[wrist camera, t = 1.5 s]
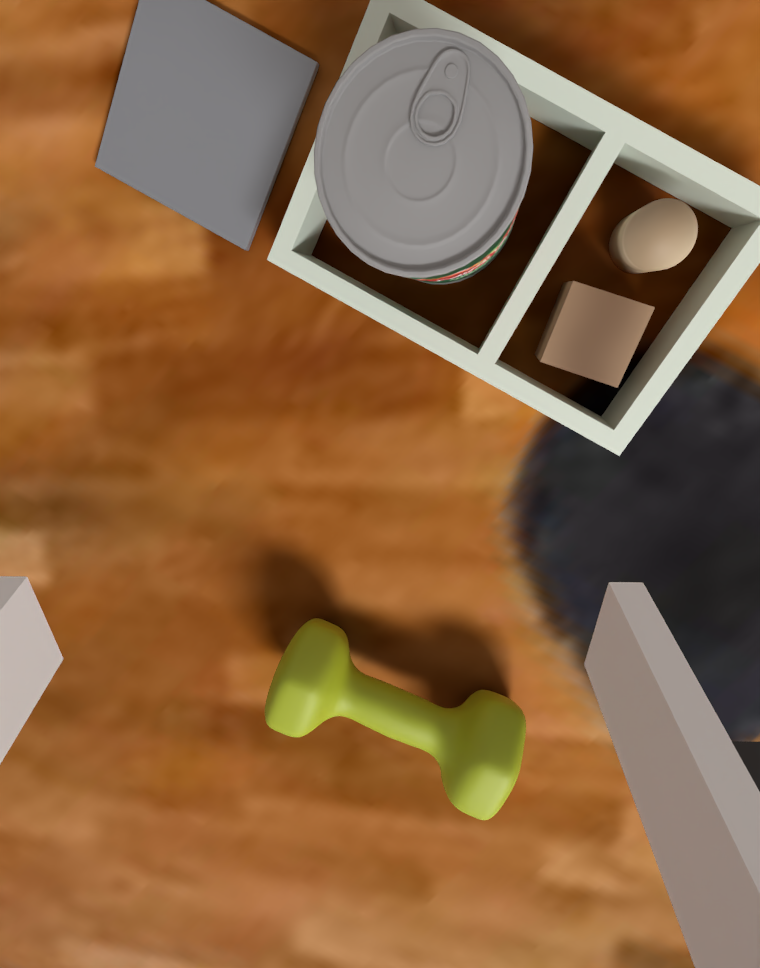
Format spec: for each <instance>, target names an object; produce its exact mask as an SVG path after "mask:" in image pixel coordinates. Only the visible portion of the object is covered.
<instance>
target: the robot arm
mask: <svg viewBox="0 0 760 968" xmlns="http://www.w3.org/2000/svg"><path fill="white" fill-rule="evenodd" d="M62 660H63V657H62V654H61V652H60V650H59V648H58V645H57V643H56V641H55V639H54V636H53V634H52V632H51V630H50V627H49V625H48V623H47V621H46V618H45V616H44V614H43V612H42V609H41V607H40V605H39V603H38V600H37V598H36V596H35V594H34V591H33V589H32V587H31V585H30V582H29V580H28V578H27V577H9V576H0V764H1V762H2V760H3V759H4V757H5V755H6V754H7V752H8V750H9V749H10V747H11V745H12V744H13V742H14V740H15V739H16V737H17V735H18V734H19V732H20V730H21V729H22V727H23V725H24V724H25V722H26V720H27V719H28V717H29V715H30V714H31V712H32V710H33V709H34V707H35V705H36V704H37V702H38V700H39V699H40V697H41V695H42V694H43V692H44V690H45V689H46V687H47V685H48V684H49V682H50V680H51V679H52V677H53V675H54V674H55V672H56V670H57V669H58V667H59V665H60V664H61V662H62ZM584 665H585V668H586V670H587V673H588V676H589V679H590V681H591V684H592V687H593V690H594V692H595V695H596V698H597V700H598V703H599V706H600V709H601V711H602V714H603V717H604V720H605V722H606V725H607V728H608V731H609V733H610V736H611V739H612V742H613V744H614V747H615V750H616V752H617V755H618V758H619V761H620V763H621V766H622V769H623V772H624V774H625V777H626V780H627V783H628V785H629V788H630V791H631V793H632V796H633V799H634V802H635V804H636V807H637V810H638V813H639V815H640V818H641V821H642V824H643V826H644V829H645V832H646V835H647V837H648V840H649V843H650V845H651V848H652V851H653V854H654V856H655V859H656V862H657V865H658V867H659V870H660V873H661V876H662V878H663V881H664V884H665V887H666V889H667V892H668V895H669V897H670V900H671V903H672V906H673V908H674V911H675V914H676V917H677V919H678V922H679V925H680V928H681V930H682V933H683V936H684V938H685V941H686V944H687V947H688V949H689V952H690V955H691V958H692V960H693V963H694V966H695V968H760V742H733V741H731V740H730V738H729V736H728V734H727V732H726V731H725V729H724V727H723V725H722V723H721V722H720V720H719V718H718V716H717V714H716V713H715V711H714V709H713V707H712V705H711V704H710V702H709V700H708V698H707V697H706V695H705V693H704V691H703V689H702V688H701V686H700V684H699V682H698V680H697V679H696V677H695V675H694V673H693V671H692V670H691V668H690V666H689V664H688V662H687V661H686V659H685V657H684V655H683V653H682V652H681V650H680V648H679V646H678V645H677V643H676V641H675V639H674V637H673V636H672V634H671V632H670V630H669V628H668V627H667V625H666V623H665V621H664V619H663V618H662V616H661V614H660V612H659V610H658V609H657V607H656V605H655V603H654V601H653V600H652V598H651V596H650V594H649V593H648V591H647V589H646V587H645V585H644V584H643V583H634V582H609V583H608V587H607V590H606V593H605V597H604V600H603V603H602V607H601V610H600V613H599V617H598V620H597V623H596V627H595V630H594V633H593V637H592V640H591V643H590V647H589V650H588V653H587V657H586V660H585V663H584Z"/></svg>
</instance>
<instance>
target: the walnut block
mask: <svg viewBox="0 0 760 968" xmlns="http://www.w3.org/2000/svg"><path fill="white" fill-rule="evenodd" d="M654 309H655V307H653V306H649V305H646V304H643V303H640V302H637V301H634V300H631V299H628V298H625V297H622V296H619V295H616V294H613V293H610V292H607V291H604V290H601V289H597V288H594V287H591V286H588V285H585V284H582V283H579V282H576V281H569V282H564V283H563V285H562V287H561V289H560V292H559V294H558V297H557V299H556V302H555V304H554V307H553V309H552V312H551V314H550V317H549V319H548V322H547V324H546V327H545V329H544V332H543V334H542V337H541V339H540V341H539V344H538V346H537V349H536V351H535V354H534V355H535V356H536V357H537V358H538V360H539V361H540V362H542V363H545V364H548V365H551V366H554V367H557V368H560V369H563V370H566V371H569V372H572V373H575V374H578V375H581V376H584V377H587V378H590V379H593V380H595V381H598V382H601V383H604V384H607V385H610V386H613V387H616V388H618V386H619V384H620V382H621V379H622V377H623V375H624V373H625V371H626V369H627V367H628V365H629V362H630V360H631V358H632V356H633V354H634V352H635V350H636V347H637V345H638V343H639V341H640V339H641V337H642V335H643V332H644V330H645V328H646V326H647V324H648V322H649V320H650V317H651V315H652V313H653V311H654Z"/></svg>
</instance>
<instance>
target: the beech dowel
mask: <svg viewBox="0 0 760 968" xmlns="http://www.w3.org/2000/svg"><path fill="white" fill-rule="evenodd" d="M697 234H698V223H697V219H696V216H695V214H694V212H693V211H692V209H691V208H690V207H689V206H688V205H687V204H685V203H684V202H682V201H680V200H677V199H671V198H664V199H659V200H655V201H653V202H651V203H649V204H647V205H645V206H644V207H642V208H640V209H638V210H637V211H635V212H633V213H631V214H630V215H628V216H626V217H625V218H623V219H622V220H621V221H620V222H619V223H618V224H617V225H616V227H615V228H614V230H613V232H612V234H611V237H610V241H609V253H610V257H611V259H612V261H613V263H614V264H615V265H616V266H617V267H618V268H619V269H621V270H622V271H625V272H627V273H633V274H638V273H645V272H652V271H659V270H664V269H668V268H671V267H673V266H675V265H677V264H678V263H680V262H681V261H682V260H683V259H684V258H685V257H686V256H687V255H688V254H689V253H690V251H691V250H692V248H693V246H694V244H695V242H696V239H697Z"/></svg>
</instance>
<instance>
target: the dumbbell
mask: <svg viewBox="0 0 760 968" xmlns="http://www.w3.org/2000/svg"><path fill="white" fill-rule="evenodd" d="M334 716H344V717H347V718H350V719H352V720H355V721H357V722H359V723H360V724H362V725H364V726H366V727H369V728H371V729H373V730H375V731H377V732H379V733H381V734H383V735H385V736H387V737H390V738H392V739H395V740H398V741H400V742H403V743H406V744H408V745H411V746H414V747H417V748H419V749H422V750H424V751H426V752H428V753H430V754H431V755H432V756H433V757H434V758H435V759H436V760H437V762H438V764H439V766H440V769H441V778H442V782H443V786H444V789H445V791H446V793H447V795H448V797H449V799H450V801H451V802H452V804H453V805H454V806H455V807H456V808H457V809H459V810H460V811H462V812H464V813H466V814H468V815H470V816H472V817H475V818H477V819H481V820H488V819H490V818H492V817H493V816H494V815H495V814H496V813H497V812H498V811H499V809H500V808H501V807H502V805H503V804H504V802H505V801H506V799H507V797H508V796H509V794H510V792H511V791H512V789H513V787H514V785H515V783H516V780H517V777H518V775H519V771H520V767H521V762H522V756H523V749H524V742H525V733H526V720H525V716H524V714H523V712H522V710H521V709H520V707H519V706H518V705H517V704H516V703H515V702H513V701H512V700H511V699H509V698H507V697H505V696H503V695H500V694H498V693H495V692H493V691H489V690H478V691H476V692H474V693H473V694H472V695H470V696H469V697H468V698H467V700H466V701H465V702H464V703H463V704H462V705H460V706H458V707H455V708H444V707H441V706H438V705H436V704H434V703H432V702H430V701H428V700H426V699H423V698H421V697H419V696H417V695H414V694H412V693H409V692H407V691H405V690H403V689H400V688H398V687H395V686H393V685H391V684H388V683H386V682H384V681H381V680H378V679H376V678H373V677H370V676H368V675H365V674H364V673H362V672H360V671H359V670H358V669H357V668H356V667H355V666H354V664H353V662H352V660H351V657H350V652H349V642H348V638H347V636H346V634H345V632H344V631H343V630H342V629H341V628H340V627H338V626H336V625H334V624H332V623H330V622H328V621H325V620H323V619H320V618H314V619H311V620H309V621H308V622H306V623H305V624H304V625H303V626H302V627H301V628H300V629H299V630H298V631H297V632H296V634H295V635H294V637H293V638H292V640H291V641H290V643H289V645H288V646H287V648H286V650H285V652H284V654H283V656H282V658H281V660H280V662H279V665H278V667H277V669H276V672H275V674H274V677H273V680H272V683H271V686H270V689H269V692H268V696H267V700H266V705H265V719H266V722H267V724H268V726H269V727H270V728H272V729H273V730H276V731H278V732H280V733H282V734H285V735H288V736H291V737H302V736H304V735H306V734H308V733H309V732H311V731H312V730H314V729H315V728H316V727H317V726H318V725H320V724H321V723H322V722H323V721H325V720H327V719H329V718H331V717H334Z"/></svg>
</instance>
